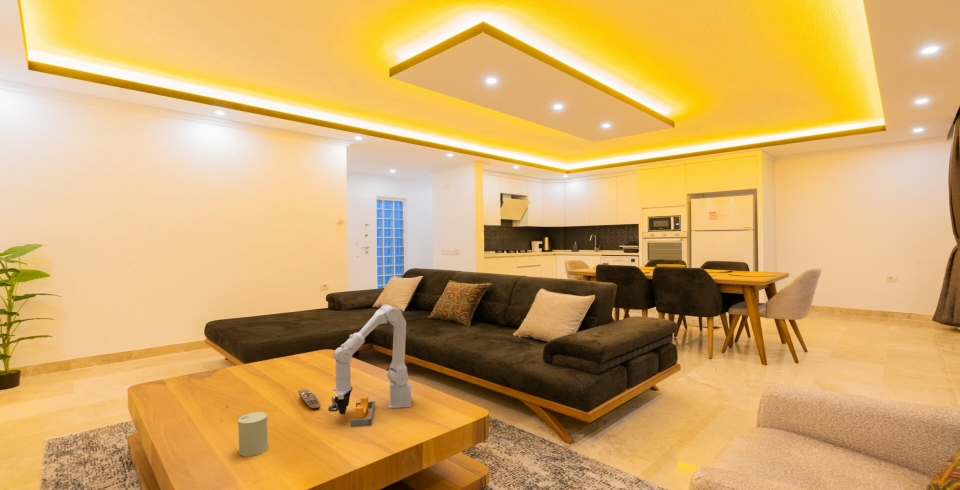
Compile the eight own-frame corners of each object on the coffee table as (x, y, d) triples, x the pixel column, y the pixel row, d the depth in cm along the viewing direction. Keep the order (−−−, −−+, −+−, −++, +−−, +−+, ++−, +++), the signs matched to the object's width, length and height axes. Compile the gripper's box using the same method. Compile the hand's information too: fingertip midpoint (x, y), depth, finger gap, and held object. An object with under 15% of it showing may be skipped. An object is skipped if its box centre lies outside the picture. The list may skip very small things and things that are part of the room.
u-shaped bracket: (375, 407, 188) (374, 401, 188) (371, 425, 171) (371, 418, 171) (356, 408, 187) (356, 402, 187) (350, 427, 170) (350, 420, 170)
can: (246, 443, 157) (245, 411, 157) (272, 442, 158) (271, 409, 158) (233, 457, 148) (232, 422, 148) (262, 455, 149) (260, 421, 148)
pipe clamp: (358, 412, 184) (357, 397, 184) (368, 411, 184) (368, 396, 184) (351, 424, 172) (350, 408, 172) (362, 424, 172) (361, 408, 172)
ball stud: (341, 406, 190) (341, 393, 190) (339, 411, 185) (339, 398, 185) (329, 407, 189) (329, 394, 189) (327, 411, 184) (327, 399, 184)
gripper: (336, 371, 184) (337, 403, 184) (329, 384, 170) (330, 418, 170) (353, 370, 185) (354, 402, 186) (348, 382, 171) (349, 416, 171)
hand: (344, 409), depth 178 cm, fingers open, 7 cm apart
